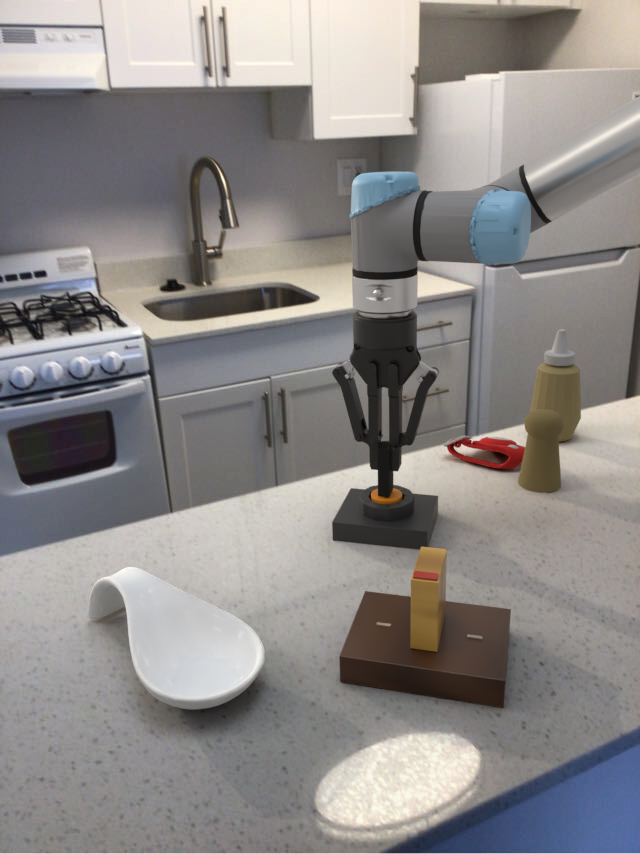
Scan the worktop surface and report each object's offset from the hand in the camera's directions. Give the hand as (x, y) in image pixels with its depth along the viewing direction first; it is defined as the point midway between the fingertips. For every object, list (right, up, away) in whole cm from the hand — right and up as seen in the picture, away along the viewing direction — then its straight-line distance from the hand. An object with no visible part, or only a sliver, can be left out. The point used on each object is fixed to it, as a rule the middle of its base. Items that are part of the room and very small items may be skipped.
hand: (385, 492), depth 97 cm
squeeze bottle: (+30, +7, +28) cm, 42 cm away
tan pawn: (+23, 0, +12) cm, 26 cm away
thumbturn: (+2, -11, -24) cm, 27 cm away
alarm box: (0, -5, +2) cm, 5 cm away
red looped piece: (+18, +3, +21) cm, 28 cm away
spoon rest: (-24, -15, -22) cm, 35 cm away
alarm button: (0, -2, +1) cm, 2 cm away
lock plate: (+2, -14, -23) cm, 27 cm away
